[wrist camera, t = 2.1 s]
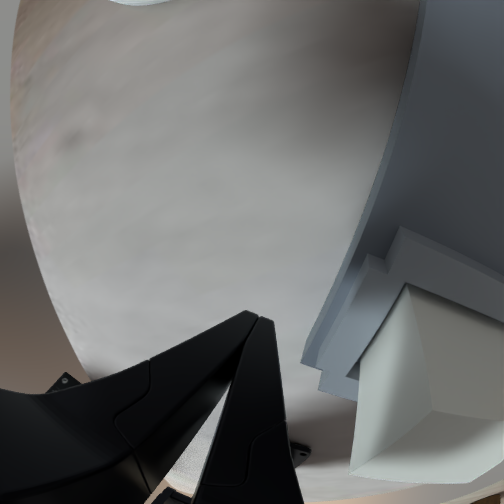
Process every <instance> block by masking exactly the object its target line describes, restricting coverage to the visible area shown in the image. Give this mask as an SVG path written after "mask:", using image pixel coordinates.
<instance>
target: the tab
mask: <svg viewBox="0 0 504 504" xmlns="http://www.w3.org/2000/svg"><path fill="white" fill-rule="evenodd" d="M503 460H504V323H502V322H500V321H498V320H496V319H493V318H491V317H489V316H486V315H484V314H482V313H479V312H477V311H475V310H472V309H470V308H467V307H465V306H463V305H460V304H458V303H456V302H453V301H451V300H448V299H446V298H443V297H441V296H439V295H436V294H434V293H431V292H429V291H426V290H424V289H421V288H419V287H416V286H414V285H411V284H409V283H405V285H404V287H403V289H402V291H401V292H400V294H399V296H398V298H397V299H396V301H395V303H394V305H393V306H392V308H391V310H390V311H389V313H388V315H387V316H386V318H385V320H384V321H383V323H382V325H381V326H380V328H379V329H378V331H377V332H376V334H375V336H374V337H373V339H372V340H371V342H370V343H369V345H368V346H367V348H366V349H365V351H364V352H363V354H362V355H361V359H360V378H359V392H358V404H357V414H356V423H355V432H354V440H353V447H352V454H351V460H350V467H349V472H348V475H353V476H359V477H365V478H372V479H379V480H388V481H397V482H410V483H432V484H452V483H453V484H454V483H469V482H471V481H473V480H474V479H476V478H478V477H479V476H481V475H482V474H484V473H486V472H487V471H489V470H490V469H492V468H493V467H494V466H496V465H497V464H499V463H500V462H502V461H503Z"/></svg>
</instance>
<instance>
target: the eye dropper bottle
mask: <svg viewBox="0 0 504 504" xmlns="http://www.w3.org/2000/svg"><path fill="white" fill-rule="evenodd" d="M110 1H114V2H117V3H121V4H125V5H134V6H142V5H152V4H158V3H163V2H167V1H171V0H110Z"/></svg>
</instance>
